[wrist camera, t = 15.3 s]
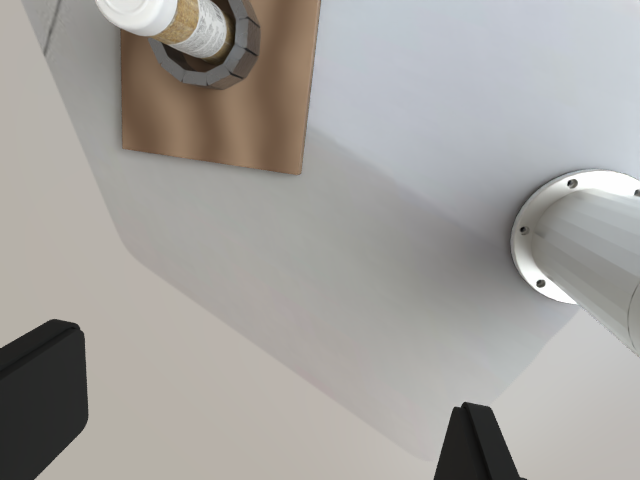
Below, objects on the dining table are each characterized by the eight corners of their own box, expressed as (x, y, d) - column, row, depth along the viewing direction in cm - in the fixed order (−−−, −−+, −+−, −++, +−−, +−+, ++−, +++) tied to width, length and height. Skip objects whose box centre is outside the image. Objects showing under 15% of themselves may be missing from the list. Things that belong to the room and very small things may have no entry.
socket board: (331, -92, 32) (329, -103, 31) (301, 173, 38) (298, 175, 37) (129, -108, 34) (118, -119, 32) (131, 148, 40) (122, 148, 39)
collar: (264, -13, 33) (251, -29, 30) (256, 94, 35) (243, 90, 32) (169, -22, 34) (146, -39, 31) (167, 83, 36) (146, 78, 33)
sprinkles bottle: (185, 22, 35) (72, -42, 22) (230, 1, 34) (139, -80, 21) (205, 74, 36) (108, 41, 23) (250, 54, 35) (174, 9, 22)
